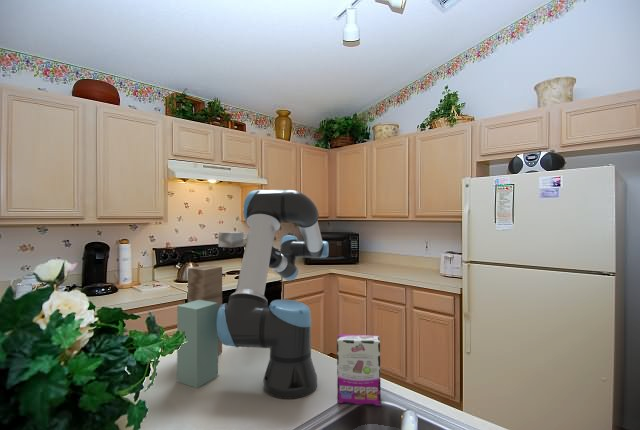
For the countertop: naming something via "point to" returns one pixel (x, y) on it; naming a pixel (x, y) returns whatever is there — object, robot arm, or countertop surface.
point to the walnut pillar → (206, 286)
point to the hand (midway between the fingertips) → (242, 234)
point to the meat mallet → (231, 239)
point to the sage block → (197, 343)
